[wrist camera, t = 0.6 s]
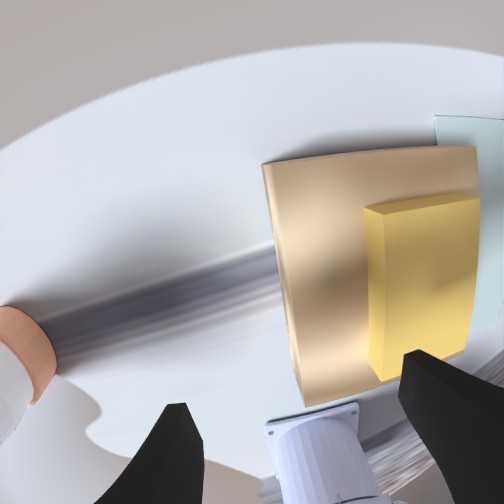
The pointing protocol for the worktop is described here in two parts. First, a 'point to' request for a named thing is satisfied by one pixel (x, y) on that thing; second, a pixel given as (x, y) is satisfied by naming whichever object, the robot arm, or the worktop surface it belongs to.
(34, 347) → the salt shaker
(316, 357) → the tan flat block
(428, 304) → the yellow rectangular block
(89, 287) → the worktop surface
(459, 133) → the mat
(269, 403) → the worktop surface
